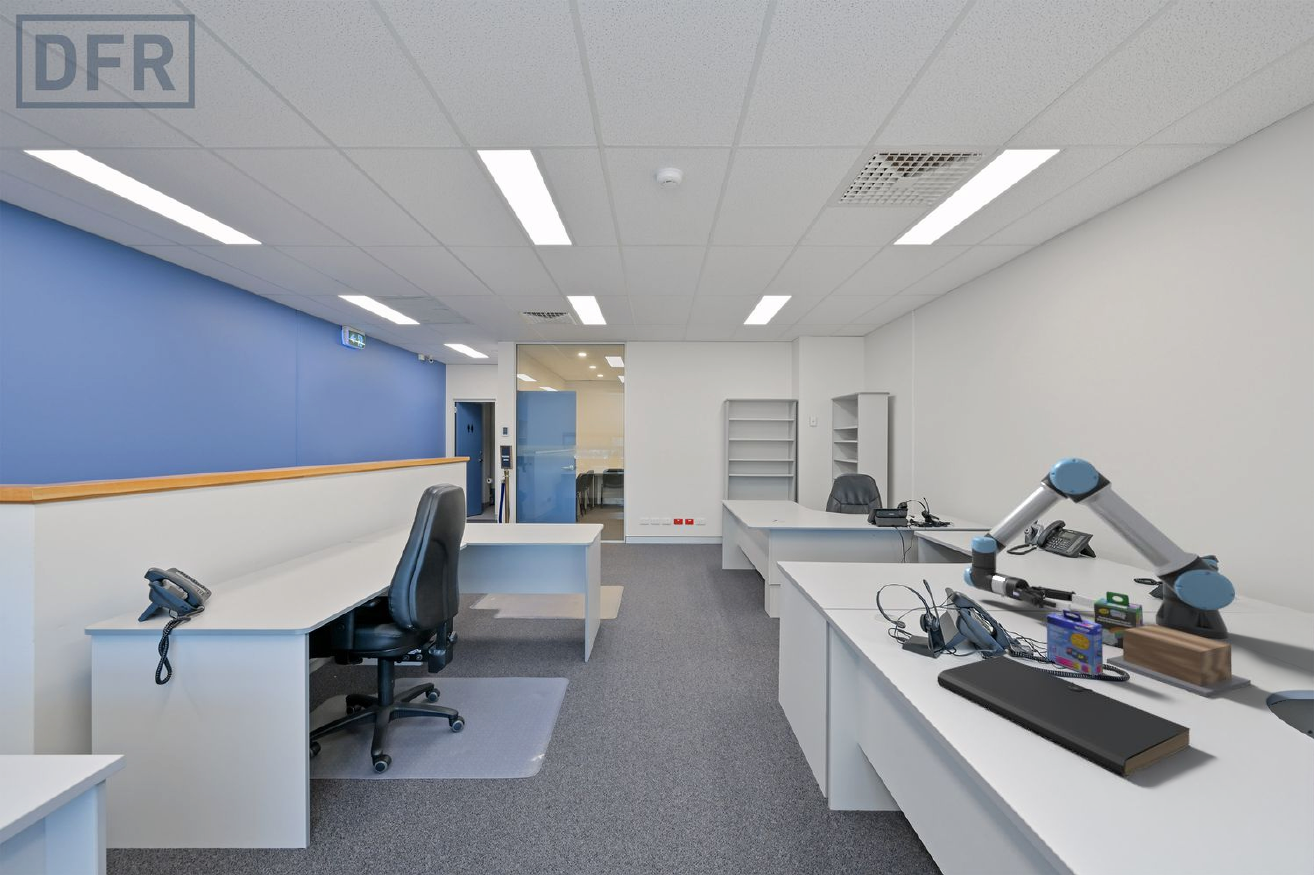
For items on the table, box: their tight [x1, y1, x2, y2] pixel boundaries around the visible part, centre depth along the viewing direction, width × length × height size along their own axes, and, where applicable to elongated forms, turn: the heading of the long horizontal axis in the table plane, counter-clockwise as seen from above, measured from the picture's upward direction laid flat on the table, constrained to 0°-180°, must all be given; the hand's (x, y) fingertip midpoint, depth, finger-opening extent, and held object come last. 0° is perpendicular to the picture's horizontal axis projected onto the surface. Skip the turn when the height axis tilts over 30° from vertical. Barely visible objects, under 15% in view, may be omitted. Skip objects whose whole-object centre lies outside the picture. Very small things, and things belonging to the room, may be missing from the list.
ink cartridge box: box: [1046, 609, 1104, 676], centre depth 119 cm, size 10×6×14 cm, turn 27°
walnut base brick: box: [1122, 623, 1233, 687], centre depth 117 cm, size 14×14×8 cm
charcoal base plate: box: [1106, 655, 1252, 698], centre depth 117 cm, size 20×18×1 cm
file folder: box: [937, 655, 1191, 778], centre depth 97 cm, size 33×4×24 cm
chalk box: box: [1093, 591, 1144, 649], centre depth 135 cm, size 9×9×15 cm
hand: (1083, 606), depth 143 cm, fingers open, 13 cm apart
